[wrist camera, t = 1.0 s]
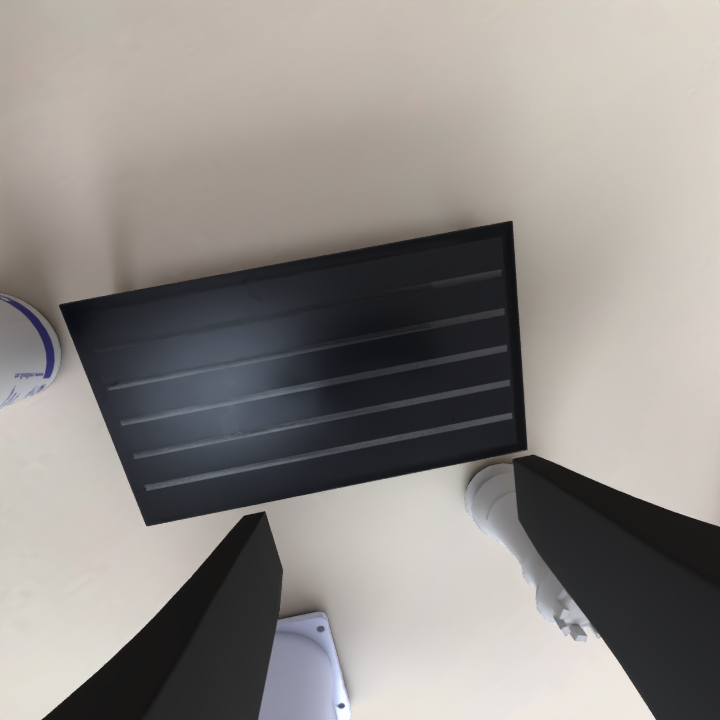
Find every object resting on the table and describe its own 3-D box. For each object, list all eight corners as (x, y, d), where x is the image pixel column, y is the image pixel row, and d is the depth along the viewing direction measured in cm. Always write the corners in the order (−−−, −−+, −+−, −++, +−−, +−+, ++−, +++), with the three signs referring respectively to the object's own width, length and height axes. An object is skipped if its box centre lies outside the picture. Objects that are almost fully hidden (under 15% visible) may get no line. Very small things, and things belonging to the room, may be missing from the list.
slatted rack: (495, 421, 20) (528, 450, 17) (179, 483, 20) (145, 527, 16) (478, 231, 17) (513, 220, 14) (113, 298, 17) (57, 304, 14)
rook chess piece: (451, 476, 21) (520, 597, 13) (520, 447, 20) (632, 551, 13) (475, 532, 22) (552, 675, 14) (540, 505, 22) (655, 634, 14)
